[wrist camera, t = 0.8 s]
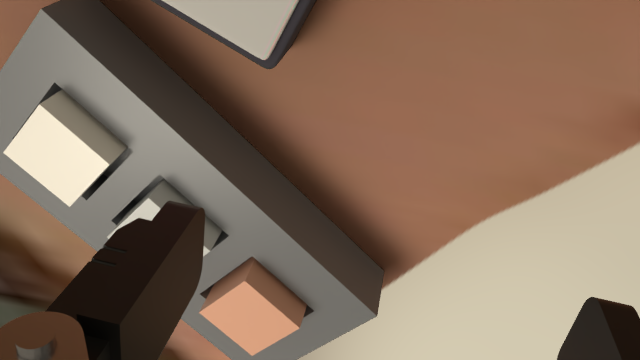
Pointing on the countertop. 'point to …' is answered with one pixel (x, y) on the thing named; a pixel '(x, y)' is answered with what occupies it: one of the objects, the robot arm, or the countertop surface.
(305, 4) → the button control panel
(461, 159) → the countertop surface
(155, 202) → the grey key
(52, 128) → the white key
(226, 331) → the terracotta key
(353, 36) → the countertop surface
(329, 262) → the keypad
